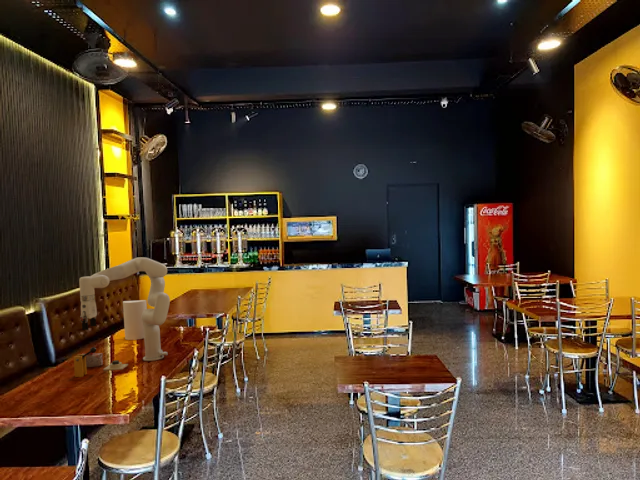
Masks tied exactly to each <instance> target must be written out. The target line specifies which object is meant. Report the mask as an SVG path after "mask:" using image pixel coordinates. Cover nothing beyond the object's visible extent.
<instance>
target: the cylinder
mask: <svg viewBox="0 0 640 480" xmlns="http://www.w3.org/2000/svg"><path fill="white" fill-rule="evenodd" d="M147 304H148V303H147V299H141V300H139V299H138V300H124V301H122V311H123V325H124V339H125V340H128V341H129V340H130V341H135V340H136V341H137V340H142V339H143V340H144V328H143V323H142V313H143V312H144V311H145V310H146V309H148V305H147Z"/></svg>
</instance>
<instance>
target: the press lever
mask: <svg viewBox="0 0 640 480" xmlns="http://www.w3.org/2000/svg"><path fill="white" fill-rule="evenodd" d="M96 352H97V348H96V347H95V346H92V347H90V349H89V351H88V352H86V353H84V354H85V355H83V356H82V355H81V356H82V360H83V359H84V358H83V357H85V356H86V355H88V354H90V353H95V354H96Z"/></svg>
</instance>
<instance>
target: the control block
mask: <svg viewBox="0 0 640 480" xmlns="http://www.w3.org/2000/svg"><path fill="white" fill-rule="evenodd" d="M128 366H129V363H122V362H121V361H119V364H115V365H113V364H112V362H111V363H109V364H108V365H107V366H106V367H104V368H103V371H105V372H107V371H123V370H124V369H125V368H127V367H128Z"/></svg>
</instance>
